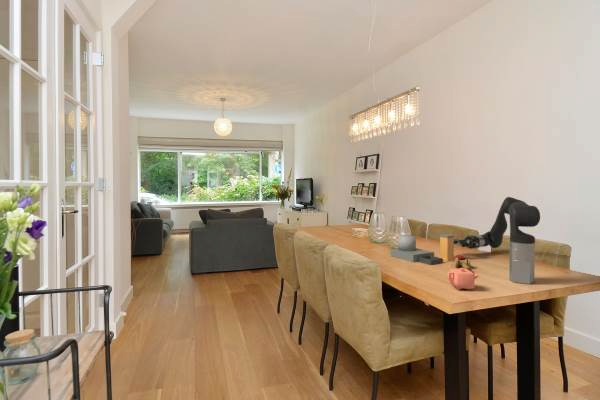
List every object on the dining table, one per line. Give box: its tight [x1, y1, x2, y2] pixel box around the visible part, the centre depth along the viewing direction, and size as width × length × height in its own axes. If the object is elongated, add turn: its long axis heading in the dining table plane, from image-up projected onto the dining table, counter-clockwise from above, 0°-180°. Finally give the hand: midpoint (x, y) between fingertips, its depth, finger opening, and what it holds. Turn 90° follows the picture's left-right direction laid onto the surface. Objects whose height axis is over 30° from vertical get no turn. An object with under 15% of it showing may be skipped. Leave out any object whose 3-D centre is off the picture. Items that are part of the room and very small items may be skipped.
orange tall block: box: [439, 233, 455, 262], centre depth 189 cm, size 5×5×14 cm
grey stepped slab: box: [390, 234, 444, 266], centre depth 192 cm, size 16×27×12 cm, turn 26°
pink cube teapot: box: [447, 267, 480, 291], centre depth 138 cm, size 8×12×8 cm, turn 85°
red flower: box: [452, 254, 473, 273], centre depth 170 cm, size 8×6×18 cm
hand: (455, 244), depth 192 cm, fingers open, 8 cm apart
